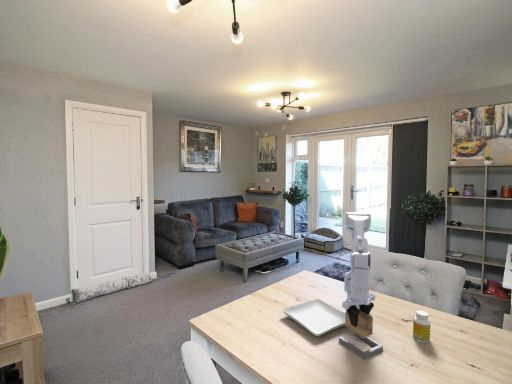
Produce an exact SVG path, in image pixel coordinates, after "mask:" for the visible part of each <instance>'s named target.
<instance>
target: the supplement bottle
mask: <svg viewBox="0 0 512 384" xmlns="http://www.w3.org/2000/svg"><path fill="white" fill-rule="evenodd" d="M412 322H413V323H412V337H413V339H414V340H416V341H417V342H421V343H424V342H425V343H430V341H431V325H432V324H431V320H430V319H429V313H428V312H426V311H425V310H420V309H419V310H416V311H415V316H414V317H413V320H412Z"/></svg>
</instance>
